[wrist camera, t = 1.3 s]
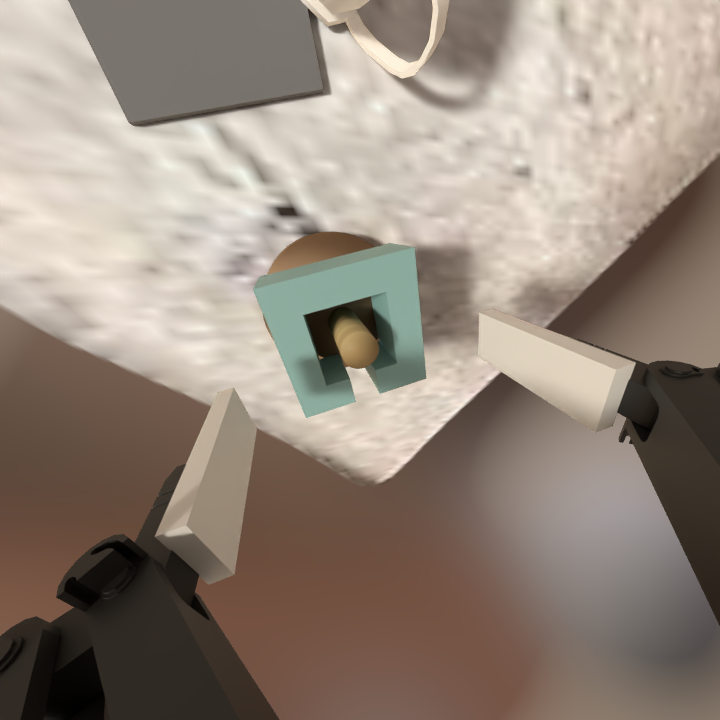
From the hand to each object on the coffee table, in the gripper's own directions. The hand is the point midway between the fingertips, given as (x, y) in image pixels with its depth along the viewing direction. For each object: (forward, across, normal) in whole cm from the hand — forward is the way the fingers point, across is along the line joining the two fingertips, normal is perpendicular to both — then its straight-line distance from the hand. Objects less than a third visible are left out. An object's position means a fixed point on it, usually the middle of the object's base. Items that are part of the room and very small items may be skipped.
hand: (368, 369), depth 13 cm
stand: (+12, 0, 0) cm, 12 cm away
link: (+7, 0, 0) cm, 7 cm away
